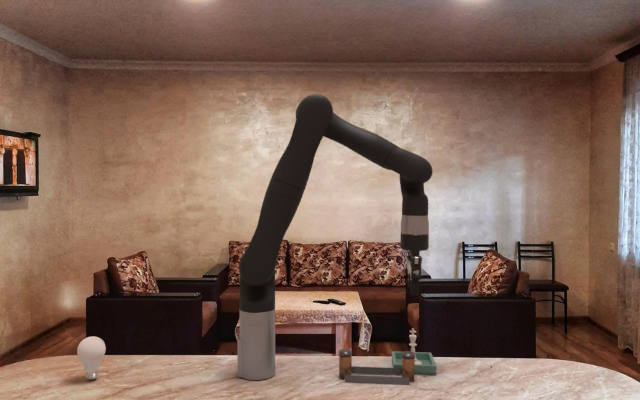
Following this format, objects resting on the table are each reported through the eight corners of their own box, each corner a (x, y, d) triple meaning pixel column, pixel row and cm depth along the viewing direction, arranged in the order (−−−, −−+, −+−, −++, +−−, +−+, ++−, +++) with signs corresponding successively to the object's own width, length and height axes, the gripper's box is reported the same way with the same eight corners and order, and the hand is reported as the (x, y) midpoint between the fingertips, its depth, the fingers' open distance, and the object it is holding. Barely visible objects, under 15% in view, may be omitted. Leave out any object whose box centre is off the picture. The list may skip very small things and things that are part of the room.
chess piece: (422, 368, 139) (422, 331, 139) (403, 367, 140) (403, 330, 140) (421, 362, 144) (421, 326, 144) (403, 361, 145) (403, 325, 144)
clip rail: (337, 382, 131) (338, 355, 131) (339, 372, 138) (339, 347, 137) (416, 385, 129) (416, 357, 129) (413, 375, 136) (413, 349, 136)
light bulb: (111, 377, 134) (111, 335, 134) (90, 386, 128) (90, 342, 128) (93, 373, 137) (92, 332, 136) (71, 382, 131) (70, 338, 130)
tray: (393, 373, 137) (393, 364, 137) (391, 359, 148) (391, 351, 148) (436, 375, 136) (436, 366, 136) (431, 361, 147) (431, 352, 147)
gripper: (399, 229, 148) (398, 286, 149) (402, 234, 134) (401, 296, 135) (425, 230, 148) (424, 287, 148) (431, 234, 133) (430, 297, 134)
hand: (413, 291), depth 141 cm, fingers open, 8 cm apart
